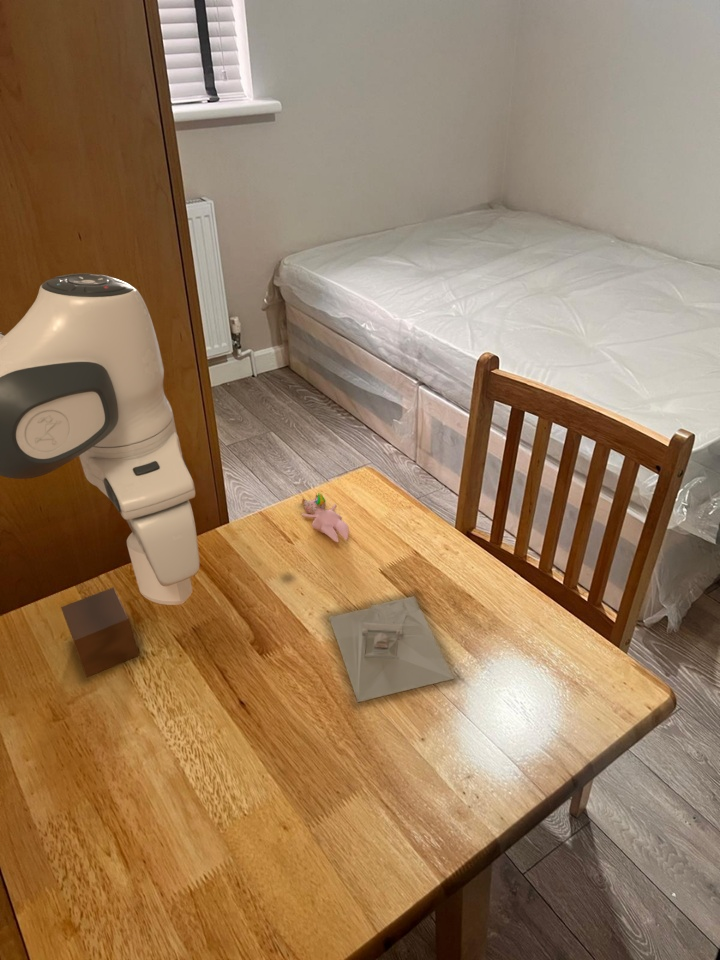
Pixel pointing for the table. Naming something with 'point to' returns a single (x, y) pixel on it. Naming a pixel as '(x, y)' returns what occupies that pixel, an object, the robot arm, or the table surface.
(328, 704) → the table surface
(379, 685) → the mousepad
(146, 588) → the eye dropper bottle
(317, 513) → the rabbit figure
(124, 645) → the walnut block
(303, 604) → the table surface
